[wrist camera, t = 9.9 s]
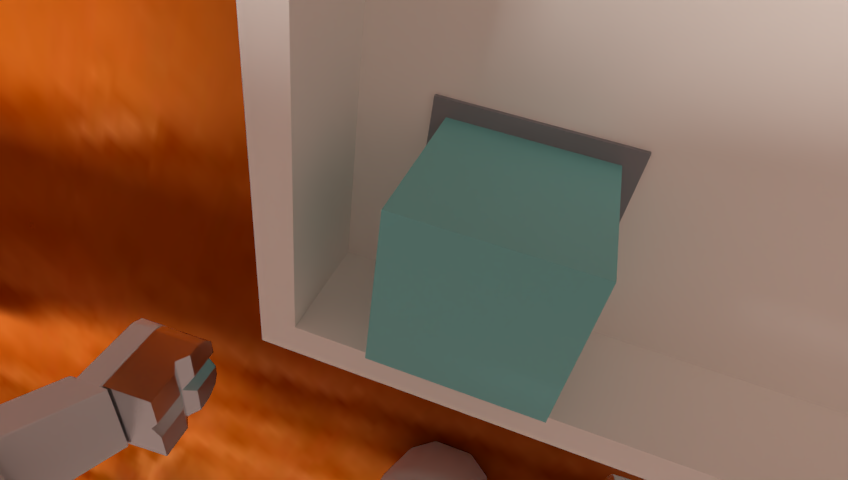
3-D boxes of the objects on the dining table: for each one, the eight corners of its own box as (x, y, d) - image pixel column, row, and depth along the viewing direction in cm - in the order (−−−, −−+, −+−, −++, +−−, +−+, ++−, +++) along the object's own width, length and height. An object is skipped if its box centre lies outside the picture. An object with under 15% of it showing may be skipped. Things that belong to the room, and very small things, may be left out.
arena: (329, 250, 21) (262, 339, 18) (344, -147, 13) (225, -142, 9) (997, 469, 18) (1096, 643, 14) (1589, 102, 10) (2227, 277, 6)
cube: (421, 250, 18) (364, 358, 15) (445, 117, 15) (381, 209, 11) (566, 296, 18) (545, 422, 14) (622, 165, 14) (616, 282, 11)
